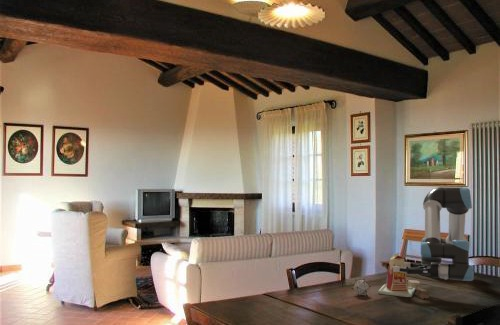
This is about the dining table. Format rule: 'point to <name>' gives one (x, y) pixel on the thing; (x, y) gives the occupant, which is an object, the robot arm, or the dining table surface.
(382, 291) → the tray
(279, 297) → the dining table surface
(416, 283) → the maple brick
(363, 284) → the game die
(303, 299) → the dining table surface
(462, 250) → the robot arm
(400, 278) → the milk carton
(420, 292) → the walnut brick
